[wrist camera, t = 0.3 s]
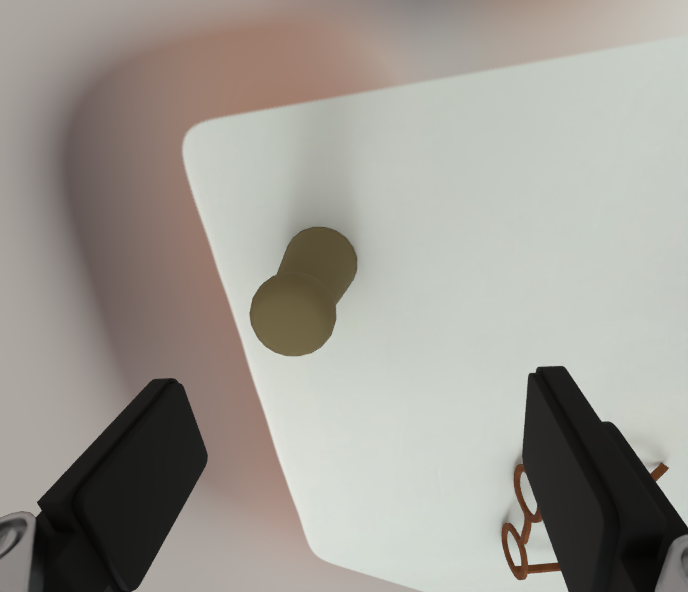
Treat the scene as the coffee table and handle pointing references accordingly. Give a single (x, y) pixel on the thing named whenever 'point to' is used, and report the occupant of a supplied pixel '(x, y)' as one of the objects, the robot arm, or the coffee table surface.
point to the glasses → (525, 569)
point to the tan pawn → (304, 293)
